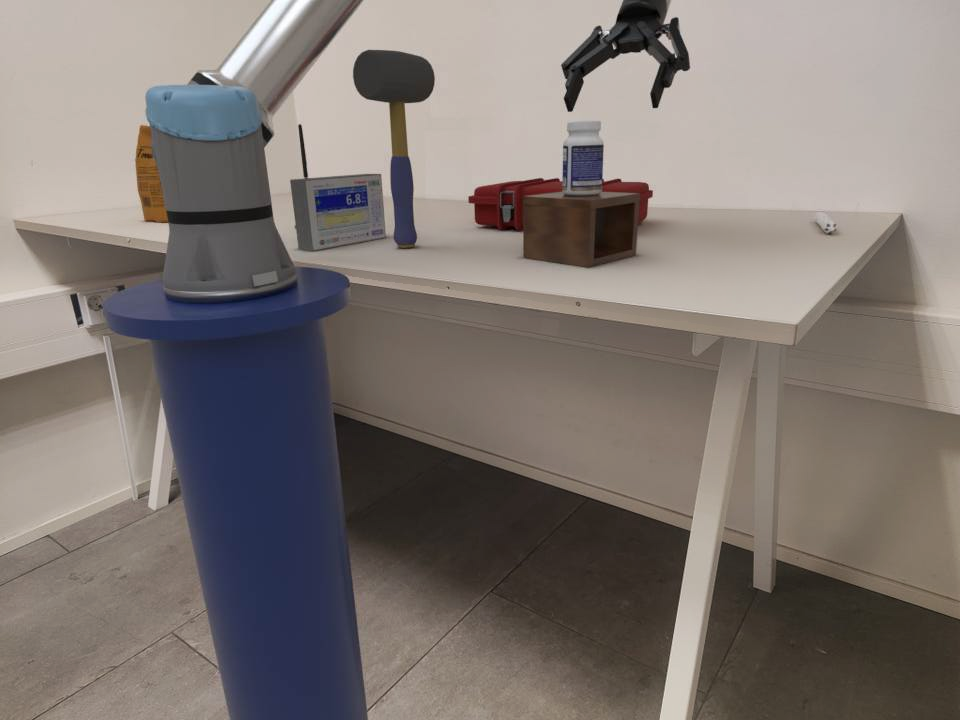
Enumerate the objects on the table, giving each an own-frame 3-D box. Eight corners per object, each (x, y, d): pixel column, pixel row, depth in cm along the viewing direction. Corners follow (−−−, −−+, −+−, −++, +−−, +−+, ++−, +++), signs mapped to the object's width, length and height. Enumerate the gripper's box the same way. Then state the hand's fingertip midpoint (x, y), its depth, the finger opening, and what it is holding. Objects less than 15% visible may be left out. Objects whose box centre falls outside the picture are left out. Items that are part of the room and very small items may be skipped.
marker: (837, 236, 105) (840, 222, 104) (824, 235, 106) (826, 221, 105) (825, 222, 121) (827, 210, 120) (813, 222, 122) (815, 210, 121)
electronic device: (313, 251, 103) (298, 123, 96) (288, 248, 107) (272, 124, 100) (388, 237, 116) (379, 123, 109) (363, 235, 120) (353, 124, 113)
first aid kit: (465, 229, 124) (463, 185, 121) (513, 216, 143) (513, 177, 140) (622, 237, 109) (625, 187, 107) (653, 221, 129) (656, 178, 126)
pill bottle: (609, 194, 90) (613, 120, 87) (586, 197, 86) (588, 120, 83) (577, 192, 94) (579, 122, 90) (553, 195, 90) (555, 122, 87)
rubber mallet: (397, 255, 98) (383, 43, 88) (363, 251, 102) (346, 49, 92) (446, 243, 107) (437, 52, 97) (413, 240, 111) (401, 56, 101)
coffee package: (172, 216, 159) (155, 125, 152) (205, 218, 153) (189, 123, 146) (136, 221, 151) (117, 124, 143) (170, 223, 145) (151, 123, 138)
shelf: (523, 257, 93) (523, 196, 90) (572, 247, 101) (573, 190, 98) (588, 267, 85) (591, 200, 82) (636, 255, 93) (640, 193, 90)
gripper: (725, 20, 98) (695, 119, 91) (578, 35, 110) (542, 124, 103) (723, -26, 92) (691, 77, 85) (568, -4, 104) (528, 87, 97)
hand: (609, 103), depth 94 cm, fingers open, 13 cm apart
